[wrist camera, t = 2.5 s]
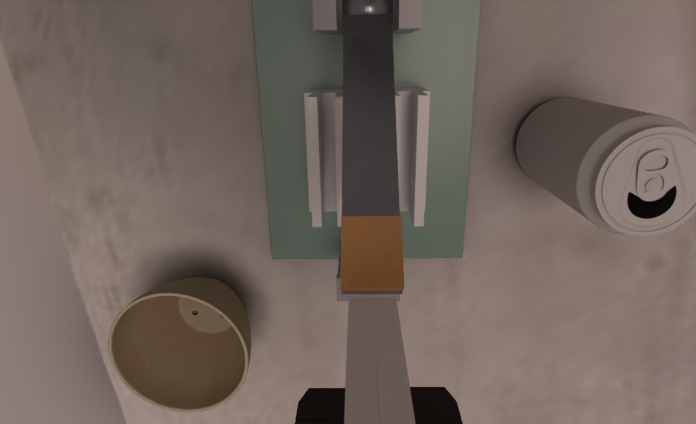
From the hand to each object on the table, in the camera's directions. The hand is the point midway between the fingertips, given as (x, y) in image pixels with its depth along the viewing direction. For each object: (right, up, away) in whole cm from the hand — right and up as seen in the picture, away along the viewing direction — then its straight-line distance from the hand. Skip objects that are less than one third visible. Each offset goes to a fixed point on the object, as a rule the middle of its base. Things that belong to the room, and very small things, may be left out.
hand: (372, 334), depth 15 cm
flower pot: (-13, -4, +24) cm, 28 cm away
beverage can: (+15, +9, +19) cm, 26 cm away
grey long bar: (0, +8, +8) cm, 11 cm away
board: (+1, +10, +19) cm, 21 cm away
